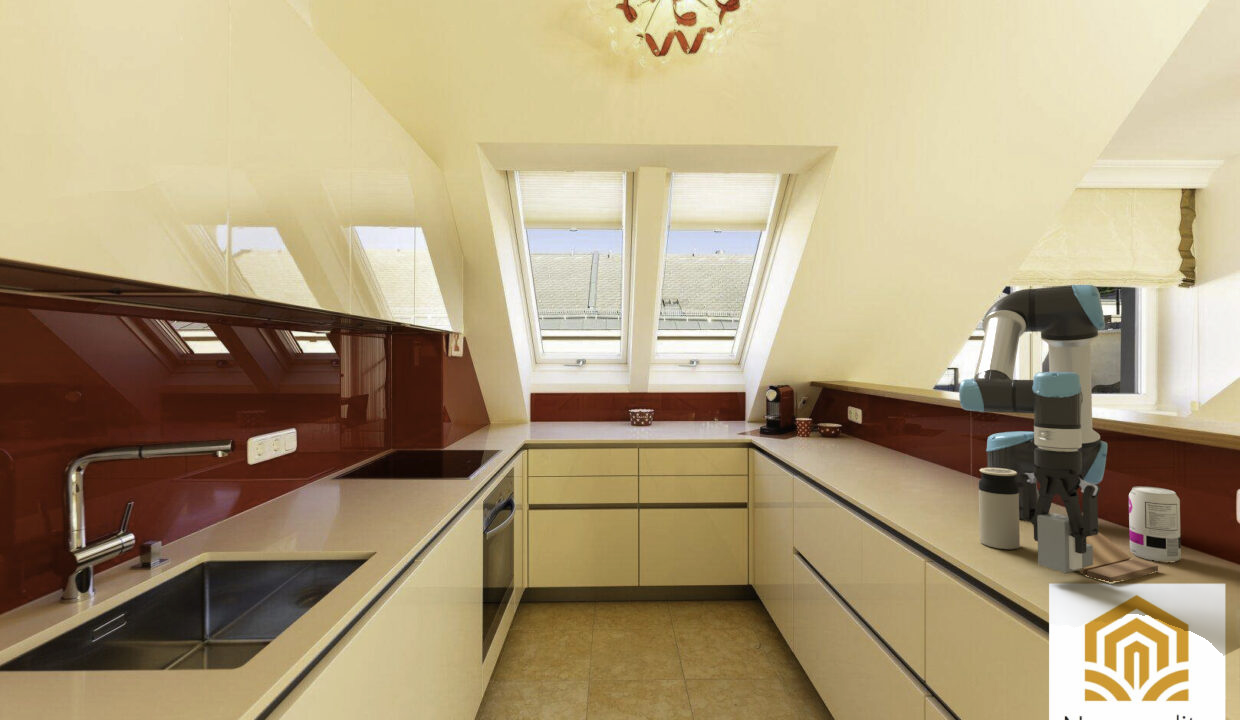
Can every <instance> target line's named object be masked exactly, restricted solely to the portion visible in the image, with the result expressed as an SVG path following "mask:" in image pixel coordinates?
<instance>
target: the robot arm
mask: <svg viewBox="0 0 1240 720" xmlns="http://www.w3.org/2000/svg"><path fill="white" fill-rule="evenodd" d="M1100 295H1101V294H1100V292H1099V289H1098V288H1097V286H1095V285H1093V284H1071V285H1059V286H1058V285H1057V286H1049V287H1039V288H1026V289H1025V288H1024V289H1020V290H1016V291H1014V292H1011V293H1009V294H1007V295H1005V296H1003V297H1002V298H1001V299H999V300H998V301H996V302H995V303H994V304H993V305H992V306H991V307H990V308H989V309H988V310H987V312H986V314H985V315H984V317H983V320H982V321H983V322H982V330H983V331H982V332H983V333H984V336H983V339H982V344H981V346H980V347H981V348H980V352H979V355H978V360H977V362H976V363H977V364H976V369H975V371H974V372H975V373H974V376H973V378H972V377H971V378H970V379H969V378H968V379H967V378H966V379H963V380H961V381H960V384H959V391H958V392H959V393H958V394H959V395H958V397H959V404H960V406H961V409H963V410H965V411H971V412H979V413H1005V414H1007V413H1008V414H1009V413H1011V414H1012V413H1013V414H1016V413H1017V414H1031V415H1032V414H1033V421H1034V422H1033V431H1005V432H998V433H993V434H991V435H989V436H988V437H987V441H986V442H987V443H986V449H985V451H986V455H987V456H986V461H987V463H986V464H987V467H986V468H1002V469H1009V470H1013V471H1016V472H1017V475H1016V476H1015V481H1016V483H1017V484H1018V486H1019V520H1020V519H1021V520H1024V521H1026V522H1029V523H1030V524H1032V525H1033V539H1034V541H1035V542H1037V543H1038V526H1037V516H1038V515H1044V514H1050V511H1051V510H1050V509H1051V506H1052V502H1053V499H1054V497H1055V496H1056V495H1057V496H1059V497H1060V499H1061V501H1062V502H1063V504H1064V507H1065V511H1066V514H1067V515H1066V516H1068V518H1069V522H1070V525H1071V528H1072V532H1073V534H1071V535H1069V569H1072V570H1075V569H1079V568H1082V553H1086V551H1087V548H1086V538H1087V536H1093V535H1097V534H1098V533H1100V532H1099V513H1098V512H1099V511H1098V509H1099V508H1098V507H1099V506H1098V495H1099V493H1100V490H1101V486H1100V485H1099V484H1101V482H1102V481H1103V478H1104V474H1105V469H1106V463H1107V462H1106V461H1107V454H1108V443H1107V442H1106V441H1103V440H1101V435H1100V434H1099V432H1097V431H1095V430H1094V429H1093V401H1092V398H1093V397H1092V361H1091V360H1092V358H1091V343H1092V342H1094V340H1096V339H1097V338H1098V337H1099V331H1100V330H1105V328H1106V322H1105V316H1104V310H1103V305H1102V300H1101V297H1100ZM1031 332H1032V333H1035V332H1036V333H1038V332H1039V333H1040V338H1041V340H1042V341H1043V342H1045V343H1047V344H1048V366H1049V367H1048V369H1049V371H1044V372H1040V371H1039V372H1036V373H1035V374H1034V375H1033V379H1013V377H1014V371H1015V367H1016V365H1015V364H1016V359H1017V354H1018V349H1019V348H1018V347H1019V343H1020V342H1019V341H1020V337H1022V336H1023V334H1025V333H1031ZM1037 483H1039V485H1040V486H1039V490H1038V486H1037ZM1080 488H1081V490H1080V492H1081V493H1082V496H1081V497H1082V498H1081V499H1082V501H1081V502H1082V503H1081V505H1082V507H1081V505H1080V502H1079V499H1080V497H1079V493H1078V489H1080ZM1081 508H1082V509H1081Z"/></svg>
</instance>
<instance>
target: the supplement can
mask: <svg viewBox="0 0 1240 720" xmlns="http://www.w3.org/2000/svg"><path fill="white" fill-rule="evenodd" d="M1180 509H1181V499H1180V498H1179V496H1178V495H1177V493H1176V492H1175V491H1174V490H1170V489H1167V488H1161V487H1154V486H1153V487H1152V486H1133V487H1132V488H1131V490H1130V492H1129V494H1128V515H1129V516H1128V520H1129V521H1128V522H1129V524H1128V525H1129V531H1128V533H1129V551H1130V552H1131V553H1132V554H1133V555H1134V556H1136V557H1138V558H1140V557H1141V558H1142V559H1144V560H1147V559H1148V561H1152V560H1154V561H1153V562H1158V561H1169V562H1170V561H1179V560H1181V559H1182V557H1181V556H1182V555H1181V554H1182V552H1181V550H1182V549H1181V546H1182V545H1181V510H1180ZM1170 563H1171V562H1170Z"/></svg>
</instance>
